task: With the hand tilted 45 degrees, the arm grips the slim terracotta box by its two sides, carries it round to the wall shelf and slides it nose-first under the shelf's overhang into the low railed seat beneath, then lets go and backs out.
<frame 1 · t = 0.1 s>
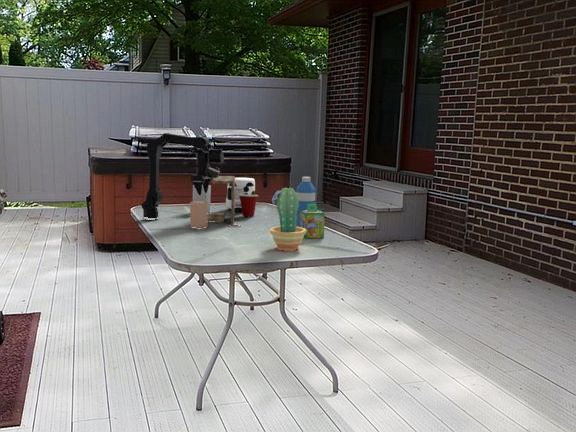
hand: (202, 193, 292), 15 cm above the table, tool pointing down, fingers open, 9 cm apart
plastic cup: (248, 216, 316), on the table
milk container: (241, 210, 335), on the table
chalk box: (311, 236, 267), on the table
skincare box: (201, 213, 323), on the table
shelf: (213, 220, 302), on the table
terracotta box: (198, 227, 282), on the table
water bottle: (305, 228, 285), on the table
potted cactus: (287, 248, 242), on the table
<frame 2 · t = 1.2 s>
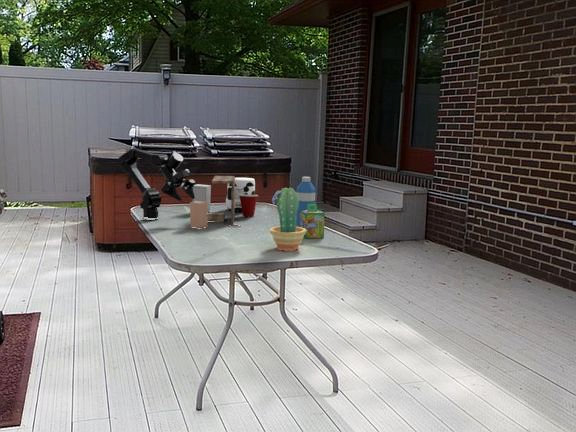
hand: (187, 199, 283), 13 cm above the table, tool tilted 45°, fingers open, 9 cm apart
nothing on the table moved.
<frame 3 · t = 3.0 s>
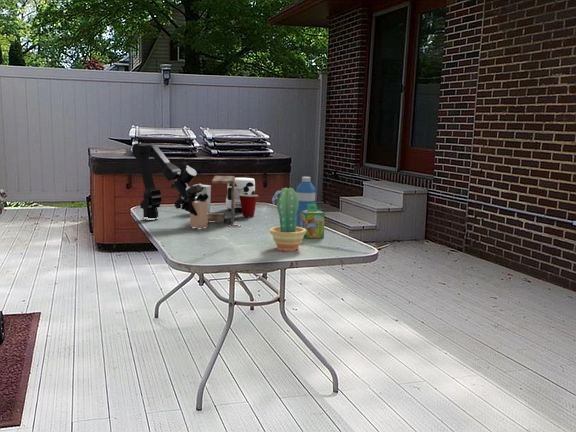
hand: (201, 214, 280), 7 cm above the table, tool tilted 45°, fingers closed on terracotta box, 6 cm apart
terracotta box: (198, 227, 282), on the table, touching gripper
everything else where it was.
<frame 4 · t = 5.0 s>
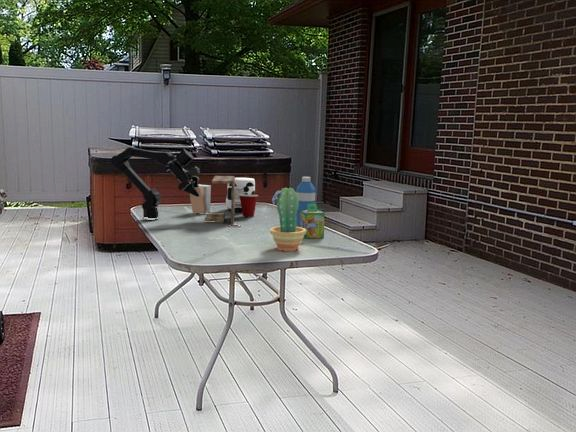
hand: (200, 195, 294), 14 cm above the table, tool tilted 45°, fingers closed on terracotta box, 5 cm apart
terracotta box: (200, 212, 295), point 5 cm above the table, tilted 10°, touching gripper
everything else where it was.
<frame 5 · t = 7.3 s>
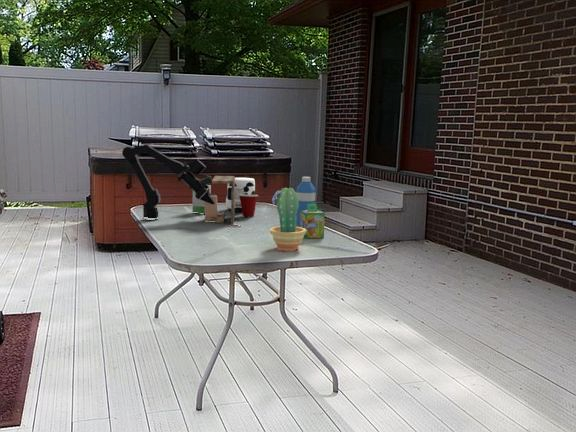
hand: (214, 203, 300), 9 cm above the table, tool tilted 45°, fingers closed on terracotta box, 5 cm apart
terracotta box: (211, 220, 302), on the table, touching gripper
everything else where it was.
when the fingers open (8 cm above the table, at t = 8.1 s): terracotta box stays where it is, on the table.
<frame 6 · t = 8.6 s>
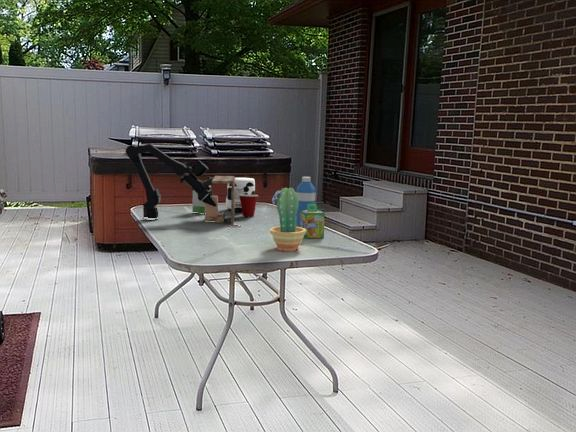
hand: (216, 204, 300), 8 cm above the table, tool tilted 45°, fingers open, 9 cm apart
terracotta box: (211, 220, 302), on the table
everything else where it was.
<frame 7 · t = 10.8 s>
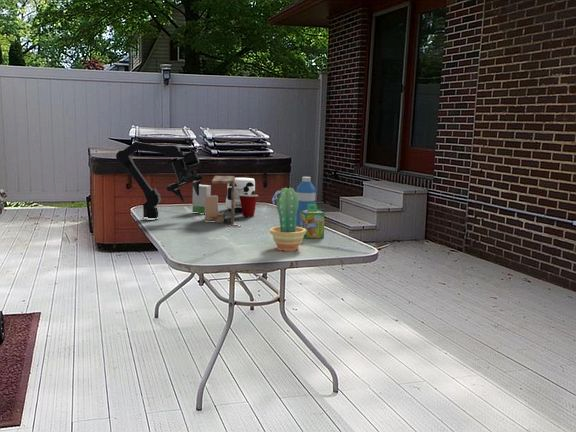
hand: (190, 198, 299), 11 cm above the table, tool tilted 20°, fingers open, 9 cm apart
nothing on the table moved.
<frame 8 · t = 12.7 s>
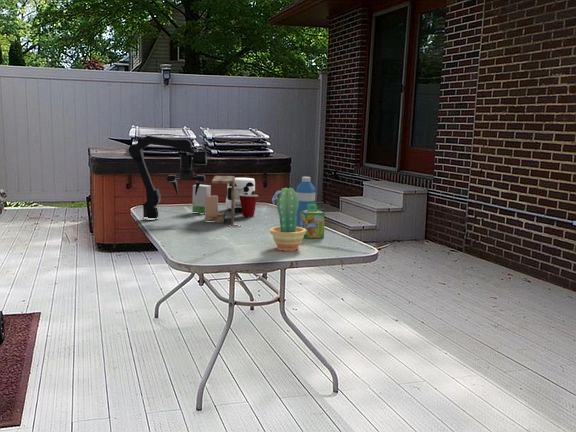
hand: (186, 195, 298), 13 cm above the table, tool pointing down, fingers open, 9 cm apart
nothing on the table moved.
at the end: terracotta box inside the target area on the shelf (1.2 cm from its centre), point 0.0 cm above the shelf's base; terracotta box tilted 0°; the gripper is holding nothing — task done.
